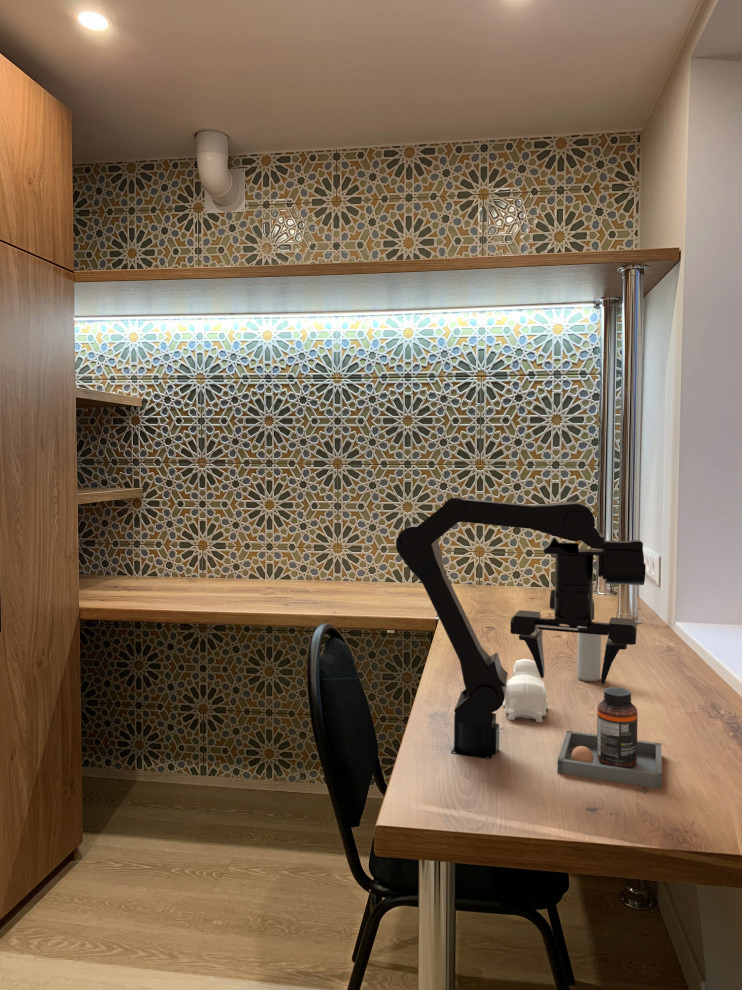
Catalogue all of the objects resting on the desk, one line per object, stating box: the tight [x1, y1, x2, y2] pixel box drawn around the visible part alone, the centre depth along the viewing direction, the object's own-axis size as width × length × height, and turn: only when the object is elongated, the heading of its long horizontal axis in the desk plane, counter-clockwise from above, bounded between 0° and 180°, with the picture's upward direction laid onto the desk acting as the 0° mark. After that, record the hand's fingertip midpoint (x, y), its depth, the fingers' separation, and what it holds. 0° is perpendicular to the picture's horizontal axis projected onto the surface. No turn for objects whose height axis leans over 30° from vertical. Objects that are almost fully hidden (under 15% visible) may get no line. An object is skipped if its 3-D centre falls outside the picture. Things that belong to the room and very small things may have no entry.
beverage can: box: [576, 626, 602, 683], centre depth 157 cm, size 5×5×12 cm
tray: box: [557, 730, 663, 790], centre depth 113 cm, size 15×13×2 cm
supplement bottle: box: [596, 686, 638, 768], centre depth 113 cm, size 6×6×11 cm
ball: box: [572, 746, 593, 763], centre depth 111 cm, size 3×3×3 cm
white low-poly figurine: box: [502, 658, 549, 723], centre depth 137 cm, size 9×8×15 cm
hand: (572, 680), depth 114 cm, fingers open, 9 cm apart
